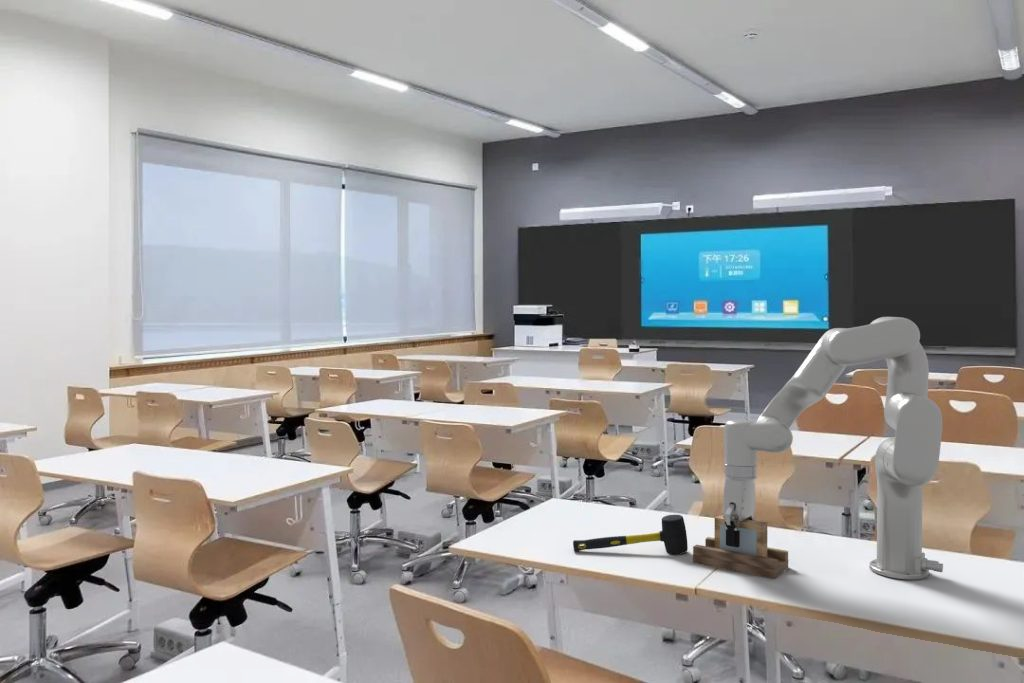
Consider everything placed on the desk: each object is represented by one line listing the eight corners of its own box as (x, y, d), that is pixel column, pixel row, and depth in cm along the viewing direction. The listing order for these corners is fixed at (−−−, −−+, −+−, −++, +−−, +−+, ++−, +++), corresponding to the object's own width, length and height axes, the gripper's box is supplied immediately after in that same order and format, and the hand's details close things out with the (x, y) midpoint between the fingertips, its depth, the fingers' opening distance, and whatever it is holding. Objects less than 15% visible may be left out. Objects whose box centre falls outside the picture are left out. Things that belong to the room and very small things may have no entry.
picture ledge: (788, 567, 189) (788, 550, 188) (774, 578, 181) (774, 560, 180) (708, 552, 200) (708, 536, 200) (692, 562, 192) (692, 545, 192)
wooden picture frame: (767, 559, 188) (767, 522, 188) (762, 563, 186) (762, 525, 185) (719, 550, 195) (719, 514, 195) (714, 554, 193) (714, 517, 193)
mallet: (573, 555, 200) (573, 518, 199) (572, 548, 205) (572, 512, 205) (689, 556, 198) (689, 519, 198) (685, 549, 204) (685, 512, 204)
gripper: (738, 463, 199) (738, 530, 199) (711, 475, 185) (711, 547, 186) (767, 467, 194) (767, 535, 195) (742, 479, 180) (742, 553, 181)
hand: (740, 541), depth 190 cm, fingers open, 9 cm apart
